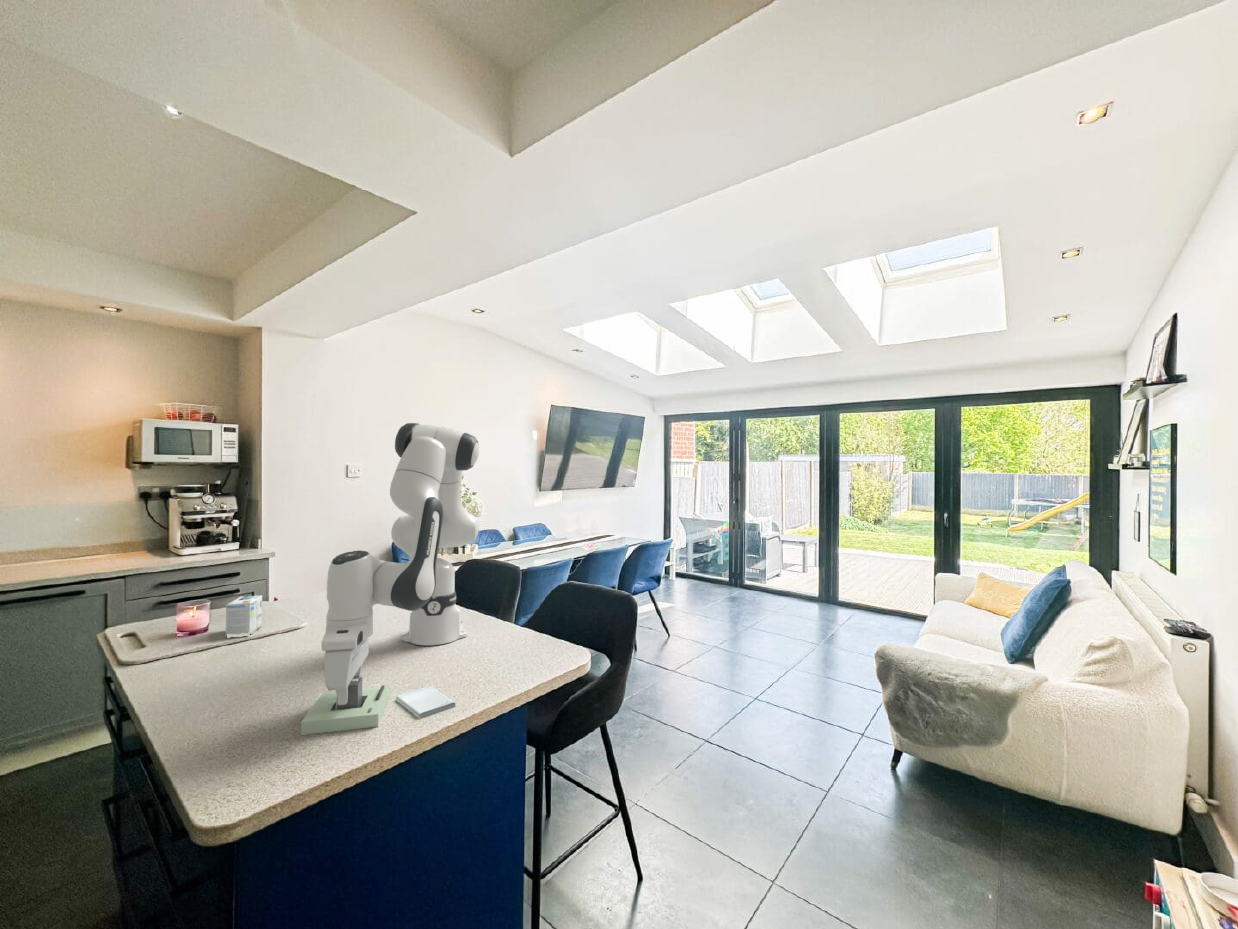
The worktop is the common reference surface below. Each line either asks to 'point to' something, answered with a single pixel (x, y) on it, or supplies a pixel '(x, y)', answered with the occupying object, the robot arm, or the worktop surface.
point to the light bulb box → (243, 614)
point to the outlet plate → (346, 712)
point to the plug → (353, 695)
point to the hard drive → (425, 701)
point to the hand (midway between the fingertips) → (349, 693)
